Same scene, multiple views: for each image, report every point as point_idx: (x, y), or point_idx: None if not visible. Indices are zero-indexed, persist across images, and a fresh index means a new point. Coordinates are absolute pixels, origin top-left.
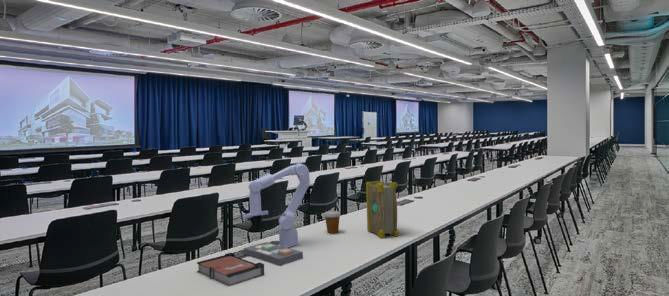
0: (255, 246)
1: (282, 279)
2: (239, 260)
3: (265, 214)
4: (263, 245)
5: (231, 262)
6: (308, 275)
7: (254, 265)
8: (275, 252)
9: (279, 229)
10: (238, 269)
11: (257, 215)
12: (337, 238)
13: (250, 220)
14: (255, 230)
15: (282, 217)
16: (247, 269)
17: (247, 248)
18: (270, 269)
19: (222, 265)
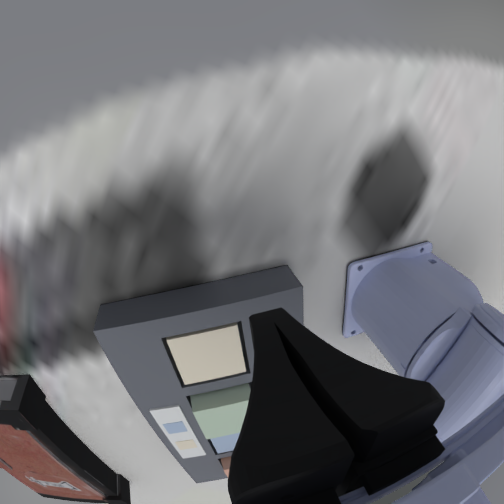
0: (181, 340)
1: (160, 499)
2: (61, 467)
3: (493, 409)
4: (208, 410)
5: (37, 464)
6: (218, 499)
7: (105, 499)
8: (222, 448)
9: (413, 360)
10: (62, 493)
11: (376, 498)
12: (498, 299)
13: (242, 431)
14: (253, 342)
15: (485, 406)
16: (85, 500)
17: (115, 352)
18: (156, 471)
19: (14, 463)
